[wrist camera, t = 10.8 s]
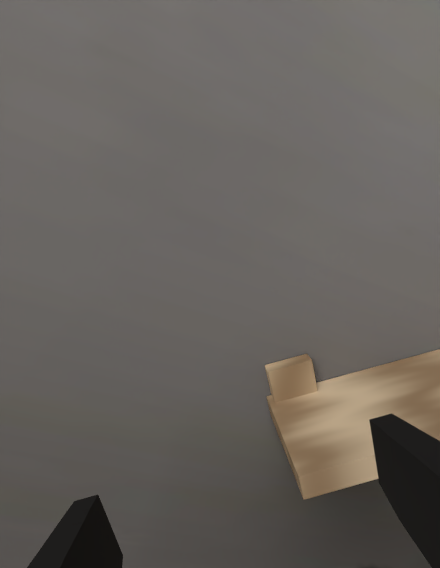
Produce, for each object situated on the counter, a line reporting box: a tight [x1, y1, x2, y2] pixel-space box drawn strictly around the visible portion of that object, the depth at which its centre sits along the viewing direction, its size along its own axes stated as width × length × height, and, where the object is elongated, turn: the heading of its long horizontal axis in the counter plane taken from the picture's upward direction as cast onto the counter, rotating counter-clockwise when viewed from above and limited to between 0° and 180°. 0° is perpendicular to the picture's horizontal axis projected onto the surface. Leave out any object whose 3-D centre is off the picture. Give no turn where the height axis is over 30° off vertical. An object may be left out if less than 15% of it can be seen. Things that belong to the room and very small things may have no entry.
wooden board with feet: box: [265, 349, 440, 500], centre depth 18 cm, size 14×5×6 cm, turn 104°
